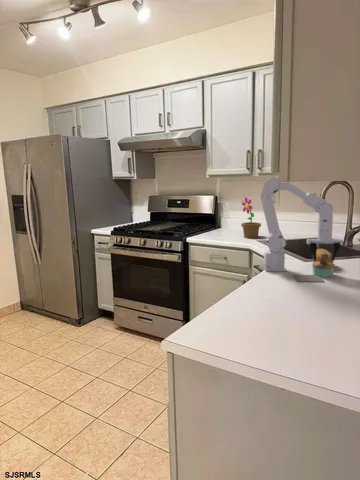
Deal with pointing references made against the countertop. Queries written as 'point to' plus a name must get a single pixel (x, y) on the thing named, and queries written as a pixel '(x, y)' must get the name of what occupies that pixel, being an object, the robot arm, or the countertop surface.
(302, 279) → the mat
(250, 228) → the flowerpot
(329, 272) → the bowl
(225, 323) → the countertop surface
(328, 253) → the potato
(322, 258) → the lid
